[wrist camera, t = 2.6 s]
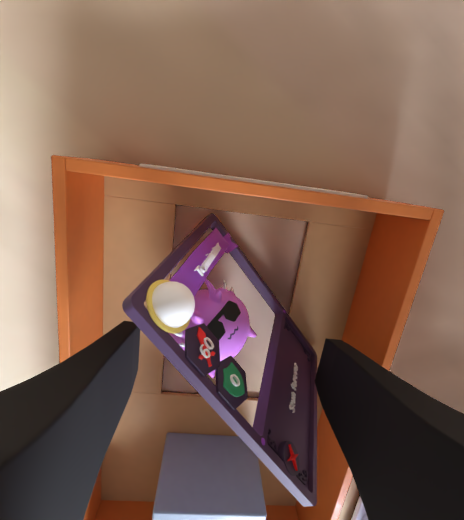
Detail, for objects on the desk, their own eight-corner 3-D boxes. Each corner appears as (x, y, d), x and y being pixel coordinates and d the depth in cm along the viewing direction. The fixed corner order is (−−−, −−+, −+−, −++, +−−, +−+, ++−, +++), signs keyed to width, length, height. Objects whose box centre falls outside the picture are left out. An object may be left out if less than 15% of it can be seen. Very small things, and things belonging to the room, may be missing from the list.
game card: (338, 508, 9) (146, 288, 7) (212, 513, 11) (41, 352, 9) (330, 349, 15) (225, 202, 12) (248, 375, 17) (148, 256, 15)
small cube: (255, 436, 17) (267, 515, 13) (244, 486, 18) (253, 573, 14) (166, 431, 16) (152, 512, 12) (161, 484, 17) (147, 573, 13)
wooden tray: (387, 197, 13) (446, 207, 10) (299, 507, 19) (317, 579, 16) (93, 156, 12) (46, 150, 9) (93, 501, 18) (65, 578, 14)
